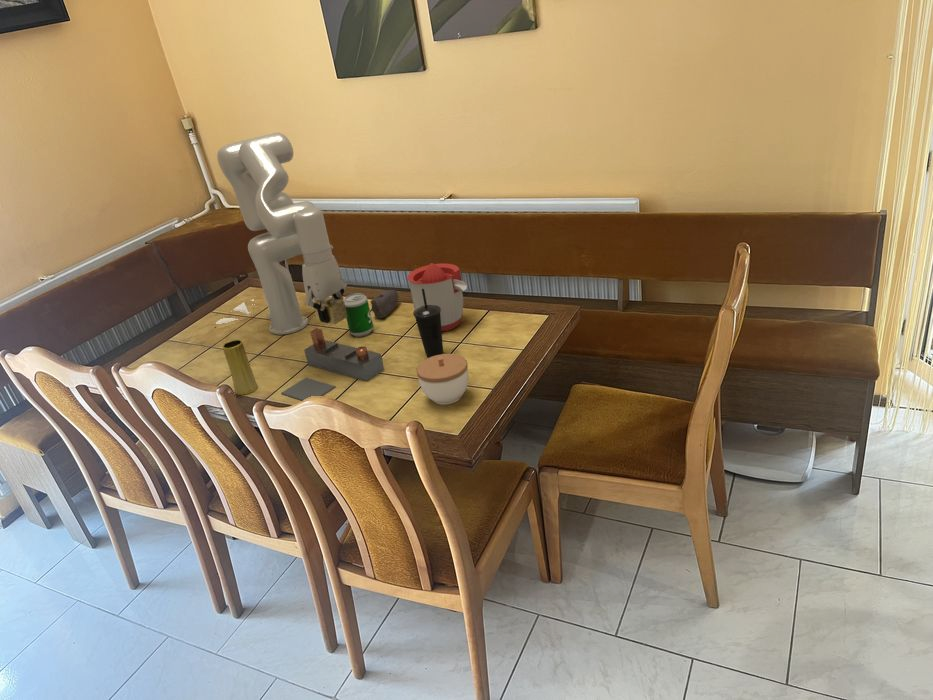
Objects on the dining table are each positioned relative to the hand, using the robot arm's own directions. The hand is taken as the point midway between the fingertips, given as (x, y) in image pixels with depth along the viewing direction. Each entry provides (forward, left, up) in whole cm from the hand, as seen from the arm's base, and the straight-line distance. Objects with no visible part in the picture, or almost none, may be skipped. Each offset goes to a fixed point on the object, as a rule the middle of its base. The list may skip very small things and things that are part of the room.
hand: (332, 317), depth 197 cm
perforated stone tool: (-14, +34, -16) cm, 40 cm away
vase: (-18, -21, -16) cm, 32 cm away
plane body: (0, 0, -15) cm, 16 cm away
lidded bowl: (+38, -1, -16) cm, 42 cm away
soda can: (-12, +19, -16) cm, 27 cm away
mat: (0, -14, -15) cm, 21 cm away
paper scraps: (-67, +12, -16) cm, 70 cm away
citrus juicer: (+10, +33, -16) cm, 38 cm away
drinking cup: (+20, +16, -16) cm, 30 cm away
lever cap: (0, 0, 0) cm, 0 cm away
